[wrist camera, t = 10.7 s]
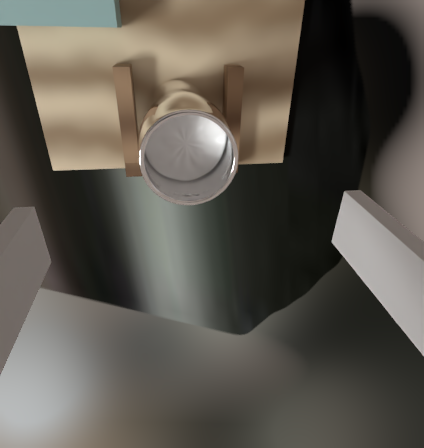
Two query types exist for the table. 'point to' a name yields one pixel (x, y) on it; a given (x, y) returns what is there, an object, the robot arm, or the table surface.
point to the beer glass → (185, 145)
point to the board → (164, 76)
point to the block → (61, 13)
